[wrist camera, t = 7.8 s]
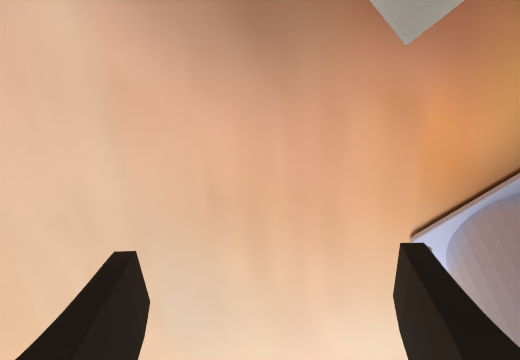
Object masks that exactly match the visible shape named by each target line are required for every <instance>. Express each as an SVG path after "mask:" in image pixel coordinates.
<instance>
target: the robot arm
mask: <svg viewBox="0 0 520 360" xmlns="http://www.w3.org/2000/svg"><path fill="white" fill-rule="evenodd" d="M428 246H429V247H428ZM393 298H394V304H395V309H396V315H397V320H398V325H399V330H400V334H401V337H402V340H403V344H404V347H405V350H406V353H407V357H408V360H520V173H518V174H517V175H515V176H513V177H512V178H510V179H508V180H507V181H505V182H503V183H502V184H500V185H498V186H497V187H495V188H493V189H491V190H490V191H488V192H486V193H485V194H483V195H481V196H480V197H478V198H476V199H475V200H473V201H471V202H470V203H468V204H466V205H464V206H463V207H461V208H459V209H458V210H456V211H454V212H453V213H451V214H449V215H448V216H446V217H444V218H443V219H441V220H439V221H437V222H436V223H434V224H432V225H431V226H429V227H427V228H426V229H424V230H422V231H421V232H419V233H417V234H416V235H414V236H413V237H412V238H411V243H400V249H399V256H398V264H397V271H396V278H395V285H394V293H393ZM149 306H150V299H149V296H148V292H147V289H146V285H145V282H144V278H143V275H142V271H141V267H140V264H139V260H138V257H137V253H136V251H124V252H114V253H113V254H112V255H111V256H110V257H109V258H108V259H107V261H106V262H105V263H104V264H103V265H102V267H101V268H100V269H99V270H98V272H97V273H96V274H95V275H94V276H93V278H92V279H91V280H90V281H89V282H88V284H87V285H86V286H85V287H84V288H83V289H82V291H81V292H80V293H79V294H78V295H77V296H76V298H75V299H74V300H73V301H72V302H71V303H70V304H69V305H68V307H67V308H66V309H65V310H64V311H63V312H62V313H61V314H60V316H59V317H58V318H57V319H56V320H55V321H54V322H53V323H52V324H51V325H50V326H49V327H48V328H47V329H46V330H45V331H44V332H43V333H42V334H41V335H40V336H39V338H38V339H37V340H35V341H34V342H33V343H32V344H31V345H30V346H29V347H28V348H27V349H26V350H25V351H24V352H23V353H22V354H21V355H20V356H19V357H18V358H17V359H15V360H138V357H139V354H140V350H141V347H142V343H143V340H144V336H145V330H146V325H147V319H148V312H149Z"/></svg>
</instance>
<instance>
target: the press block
mask: <svg viewBox="0 0 520 360" xmlns="http://www.w3.org/2000/svg"><path fill="white" fill-rule="evenodd" d="M463 1H464V0H370V2H371V3H372V4H373V5H374V7H375V8H376V9H377V10H378V12H379V13H380V14H381V16H382V17H383V18H384V19H385V21H386V22H387V23H388V24H389V26H390V27H391V28H392V29H393V31H394V32H395V33H396V34H397V36H398V37H399V38H400V40H401V41H402V42H403V43H404V45H405V46H407V45H408V44H409V43H411V42H412V41H413V40H415V39H416V38H417V37H418V36H420V35H421V34H422V33H423V32H425V31H426V30H427V29H429V28H430V27H431V26H432V25H434V24H435V23H436V22H437V21H439V20H440V19H441V18H443V17H444V16H445V15H446V14H448V13H449V12H450V11H451V10H453V9H454V8H455V7H457V6H458V5H459V4H460V3H462V2H463Z"/></svg>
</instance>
